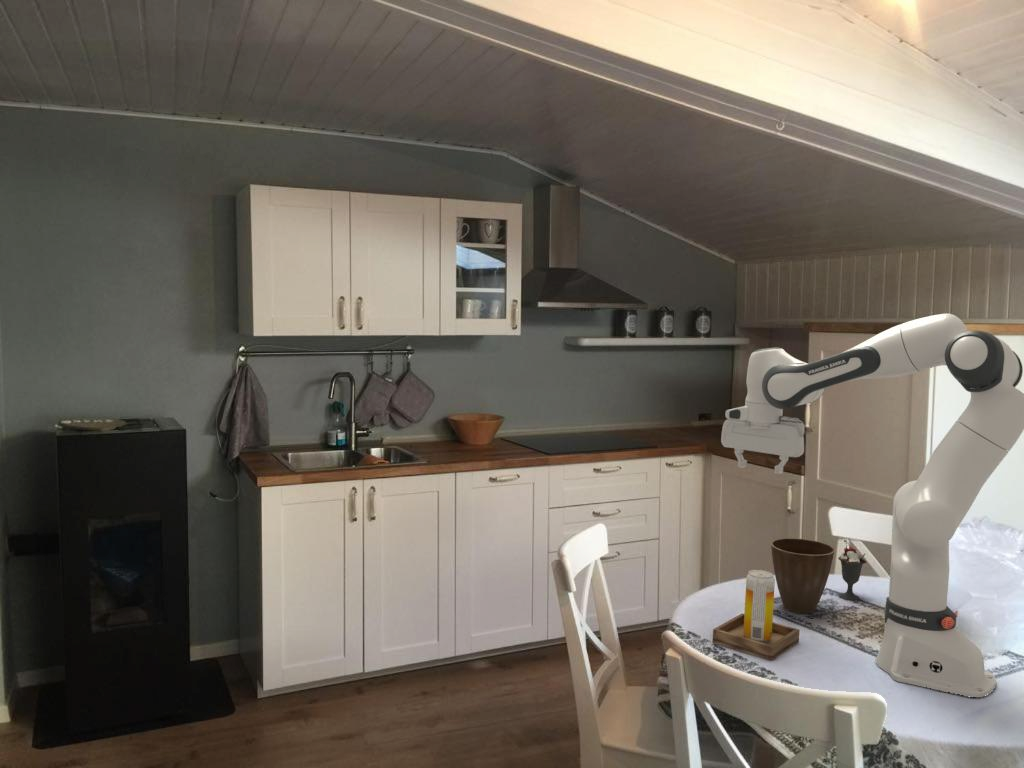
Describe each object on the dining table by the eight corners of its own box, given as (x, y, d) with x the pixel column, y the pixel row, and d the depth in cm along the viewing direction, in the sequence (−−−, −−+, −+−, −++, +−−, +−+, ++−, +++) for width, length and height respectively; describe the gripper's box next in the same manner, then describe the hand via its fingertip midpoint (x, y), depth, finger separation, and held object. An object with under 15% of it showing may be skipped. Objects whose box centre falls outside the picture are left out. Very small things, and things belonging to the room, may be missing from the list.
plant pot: (754, 604, 218) (758, 542, 216) (793, 594, 226) (797, 534, 225) (804, 623, 206) (808, 558, 204) (843, 612, 214) (847, 549, 212)
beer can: (769, 634, 196) (773, 570, 194) (772, 645, 190) (776, 579, 188) (742, 632, 197) (745, 568, 195) (744, 642, 191) (747, 576, 189)
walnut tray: (798, 642, 194) (799, 629, 194) (771, 660, 184) (772, 647, 184) (741, 625, 203) (742, 613, 203) (712, 642, 193) (713, 629, 193)
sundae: (830, 593, 228) (833, 538, 226) (851, 591, 230) (855, 536, 228) (846, 602, 221) (850, 545, 220) (868, 600, 223) (872, 543, 222)
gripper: (810, 417, 205) (806, 475, 206) (731, 408, 218) (728, 462, 220) (799, 420, 200) (795, 478, 202) (719, 410, 214) (716, 465, 215)
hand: (760, 470), depth 211 cm, fingers open, 8 cm apart
